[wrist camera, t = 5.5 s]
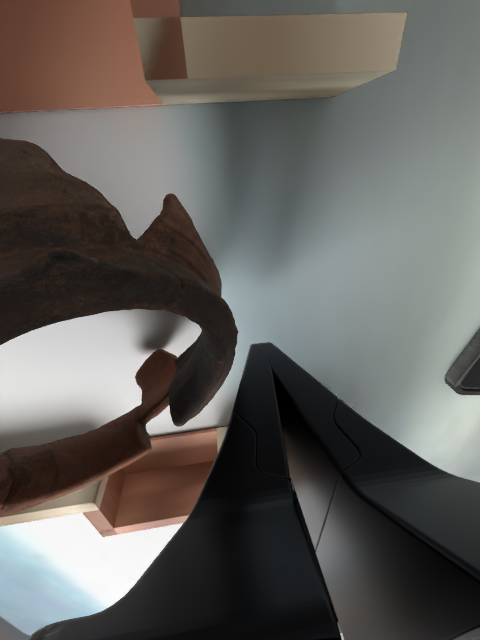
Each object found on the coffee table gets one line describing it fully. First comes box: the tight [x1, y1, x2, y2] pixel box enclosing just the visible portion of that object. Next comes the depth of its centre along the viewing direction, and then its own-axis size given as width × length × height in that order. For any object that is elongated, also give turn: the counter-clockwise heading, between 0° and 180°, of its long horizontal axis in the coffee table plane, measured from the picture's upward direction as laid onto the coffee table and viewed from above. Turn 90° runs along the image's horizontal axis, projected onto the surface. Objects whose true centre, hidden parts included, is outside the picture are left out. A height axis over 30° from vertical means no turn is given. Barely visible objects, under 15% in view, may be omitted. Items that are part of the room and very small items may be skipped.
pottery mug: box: [0, 139, 238, 516], centre depth 8 cm, size 12×10×8 cm
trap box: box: [0, 0, 407, 537], centre depth 9 cm, size 18×22×4 cm
